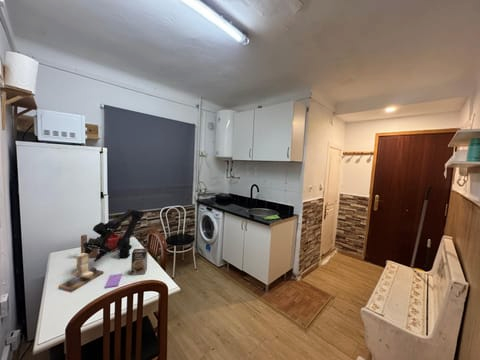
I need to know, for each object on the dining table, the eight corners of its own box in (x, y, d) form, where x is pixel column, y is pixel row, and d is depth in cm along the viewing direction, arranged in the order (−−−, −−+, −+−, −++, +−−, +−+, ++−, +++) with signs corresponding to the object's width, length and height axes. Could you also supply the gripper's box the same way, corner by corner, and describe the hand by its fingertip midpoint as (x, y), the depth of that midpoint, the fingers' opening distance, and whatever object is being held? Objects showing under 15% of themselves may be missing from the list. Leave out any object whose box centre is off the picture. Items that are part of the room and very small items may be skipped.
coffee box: (130, 275, 130) (131, 252, 128) (133, 270, 136) (133, 248, 134) (145, 274, 132) (146, 252, 131) (147, 269, 138) (147, 247, 137)
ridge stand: (91, 270, 132) (91, 265, 131) (103, 273, 130) (103, 267, 129) (58, 288, 112) (58, 282, 112) (72, 292, 110) (72, 285, 110)
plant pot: (108, 254, 154) (108, 240, 153) (97, 251, 159) (97, 237, 158) (123, 248, 166) (123, 235, 166) (112, 245, 171) (112, 232, 170)
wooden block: (96, 257, 149) (96, 235, 147) (79, 259, 145) (79, 236, 143) (98, 255, 152) (98, 233, 151) (81, 257, 148) (82, 234, 147)
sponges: (121, 275, 129) (121, 273, 129) (117, 287, 118) (117, 284, 118) (109, 277, 127) (109, 274, 127) (104, 289, 115) (104, 286, 115)
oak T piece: (71, 274, 120) (71, 254, 119) (78, 271, 124) (78, 251, 123) (87, 278, 118) (87, 257, 116) (93, 274, 121) (93, 254, 120)
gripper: (85, 230, 130) (68, 253, 120) (108, 234, 126) (92, 258, 116) (96, 237, 138) (80, 259, 128) (118, 241, 134) (103, 264, 125)
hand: (88, 260), depth 124 cm, fingers open, 9 cm apart
